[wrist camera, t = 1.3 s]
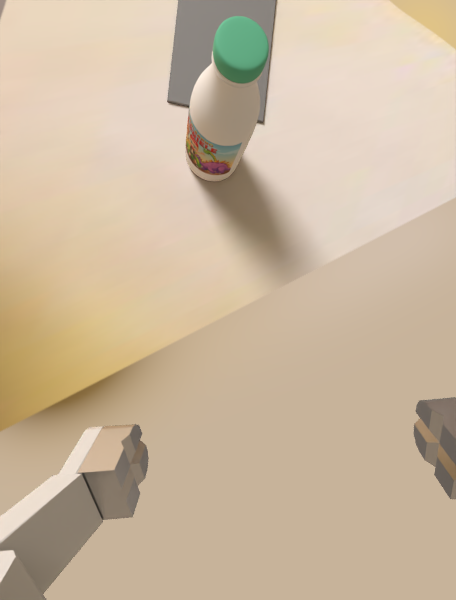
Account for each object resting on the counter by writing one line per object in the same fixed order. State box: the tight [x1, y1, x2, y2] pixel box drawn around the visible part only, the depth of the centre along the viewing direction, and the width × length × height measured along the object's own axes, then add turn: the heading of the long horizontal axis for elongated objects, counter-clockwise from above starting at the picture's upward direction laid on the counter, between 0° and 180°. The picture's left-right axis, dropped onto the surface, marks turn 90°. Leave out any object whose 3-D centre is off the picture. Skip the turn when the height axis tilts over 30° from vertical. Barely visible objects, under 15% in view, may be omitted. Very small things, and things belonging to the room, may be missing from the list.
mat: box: [167, 0, 276, 123], centre depth 44 cm, size 20×14×1 cm
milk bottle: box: [185, 16, 269, 181], centre depth 34 cm, size 8×8×20 cm
